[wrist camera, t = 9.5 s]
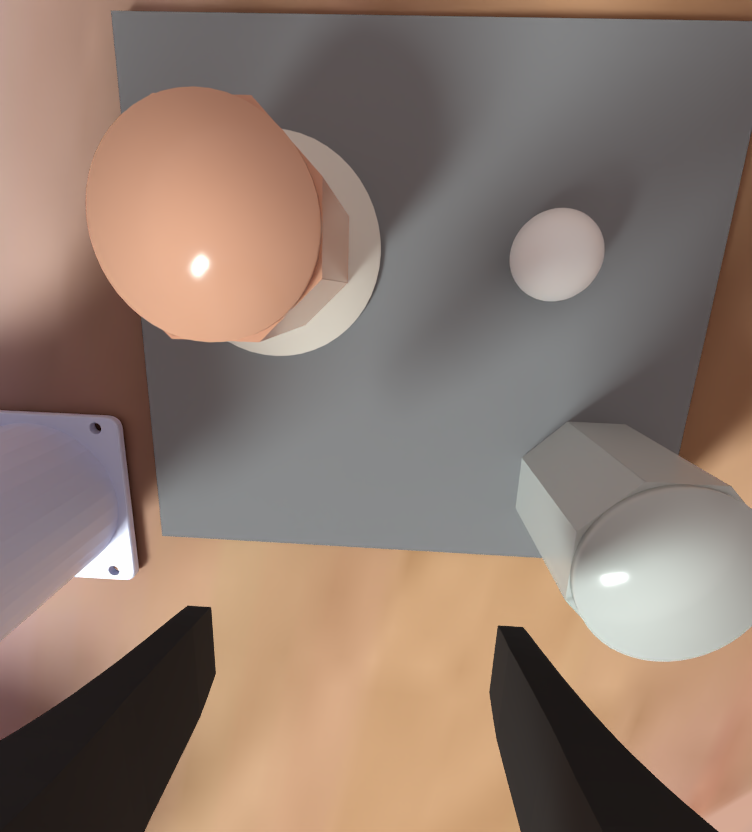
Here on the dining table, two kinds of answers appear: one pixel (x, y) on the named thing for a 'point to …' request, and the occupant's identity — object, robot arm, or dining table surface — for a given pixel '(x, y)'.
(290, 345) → the pad
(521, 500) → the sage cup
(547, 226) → the marble
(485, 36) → the mat
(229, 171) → the tan piece
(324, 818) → the dining table surface
